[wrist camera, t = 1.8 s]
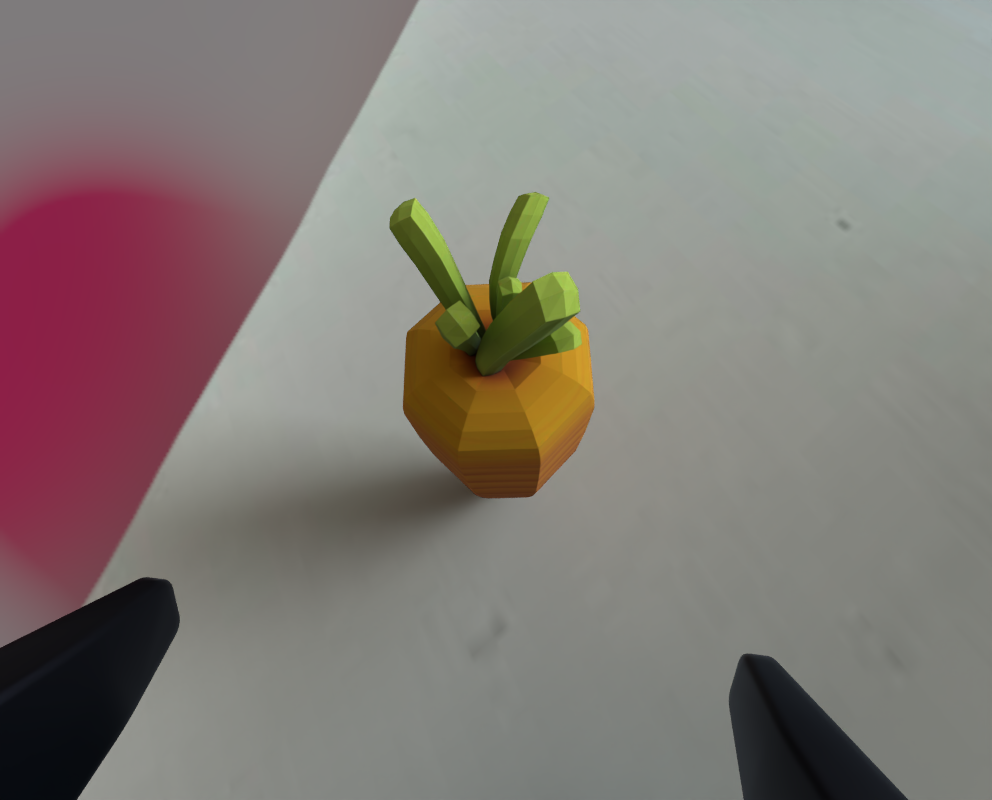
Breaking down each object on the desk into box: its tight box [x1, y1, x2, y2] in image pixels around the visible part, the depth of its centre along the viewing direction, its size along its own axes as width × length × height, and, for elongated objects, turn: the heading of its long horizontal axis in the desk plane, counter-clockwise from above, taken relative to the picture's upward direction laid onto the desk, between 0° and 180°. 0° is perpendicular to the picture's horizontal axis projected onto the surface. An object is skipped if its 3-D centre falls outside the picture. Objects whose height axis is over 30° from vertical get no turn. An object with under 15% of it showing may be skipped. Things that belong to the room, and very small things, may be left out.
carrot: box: [390, 192, 594, 498], centre depth 16 cm, size 5×5×15 cm
